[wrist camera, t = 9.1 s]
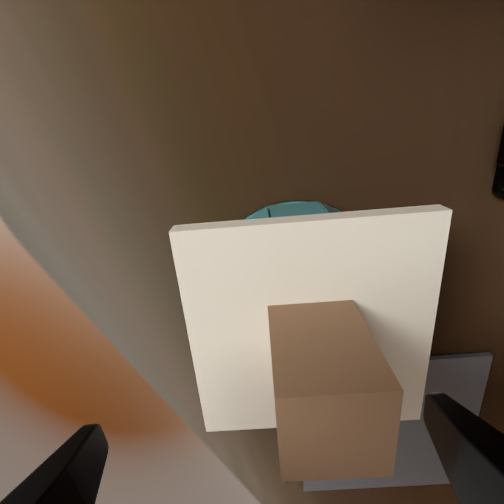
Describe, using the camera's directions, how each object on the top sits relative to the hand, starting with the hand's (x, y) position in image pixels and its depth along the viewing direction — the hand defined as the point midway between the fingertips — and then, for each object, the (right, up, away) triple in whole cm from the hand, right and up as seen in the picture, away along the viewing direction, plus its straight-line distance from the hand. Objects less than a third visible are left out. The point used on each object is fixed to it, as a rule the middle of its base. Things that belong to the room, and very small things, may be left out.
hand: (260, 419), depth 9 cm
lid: (+3, +1, +8) cm, 8 cm away
